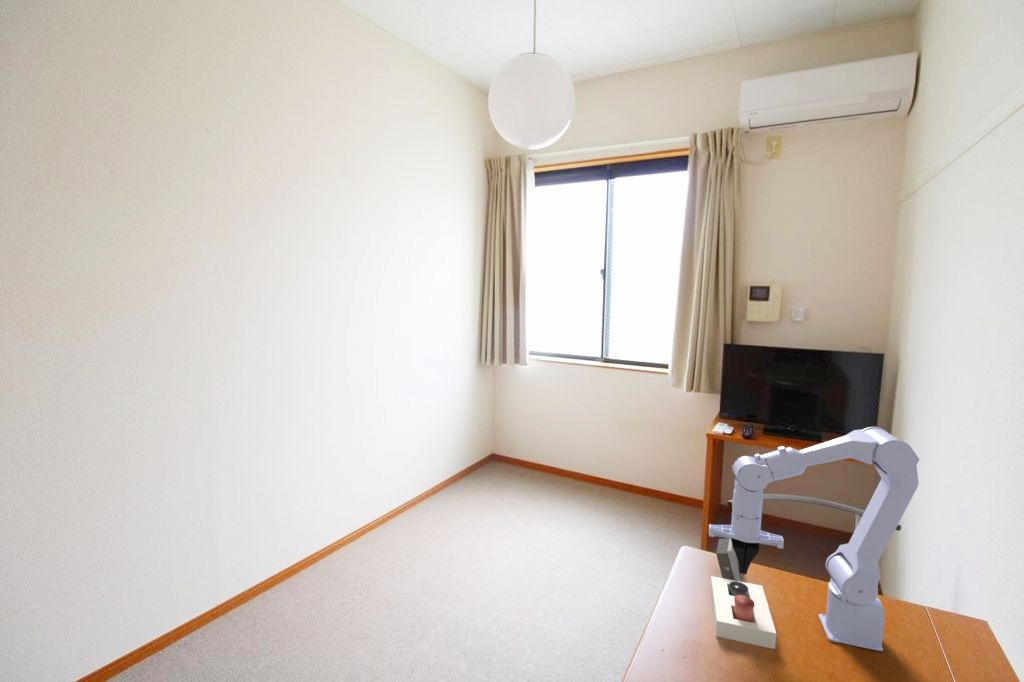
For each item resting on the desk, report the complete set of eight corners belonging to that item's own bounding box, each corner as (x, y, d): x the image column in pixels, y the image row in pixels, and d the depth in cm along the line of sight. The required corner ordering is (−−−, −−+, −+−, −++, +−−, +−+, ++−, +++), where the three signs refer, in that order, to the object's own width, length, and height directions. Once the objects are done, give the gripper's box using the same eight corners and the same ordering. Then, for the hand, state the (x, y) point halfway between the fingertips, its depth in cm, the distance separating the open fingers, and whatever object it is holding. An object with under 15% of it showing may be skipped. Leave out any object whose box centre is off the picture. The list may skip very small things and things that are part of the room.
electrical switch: (740, 590, 115) (739, 553, 114) (717, 585, 117) (715, 549, 116) (742, 570, 123) (741, 535, 122) (720, 566, 125) (719, 532, 125)
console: (761, 599, 111) (762, 585, 111) (775, 649, 96) (776, 633, 96) (710, 589, 115) (711, 576, 114) (716, 636, 100) (717, 620, 99)
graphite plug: (745, 599, 110) (746, 583, 110) (748, 609, 107) (749, 593, 106) (727, 595, 112) (728, 580, 111) (729, 606, 108) (730, 590, 108)
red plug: (751, 614, 103) (752, 597, 102) (754, 626, 99) (755, 608, 99) (732, 610, 104) (733, 593, 103) (734, 622, 100) (735, 604, 100)
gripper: (781, 510, 104) (776, 567, 106) (709, 499, 109) (706, 555, 111) (787, 525, 98) (782, 586, 100) (711, 513, 103) (707, 572, 104)
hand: (742, 571), depth 105 cm, fingers closed
